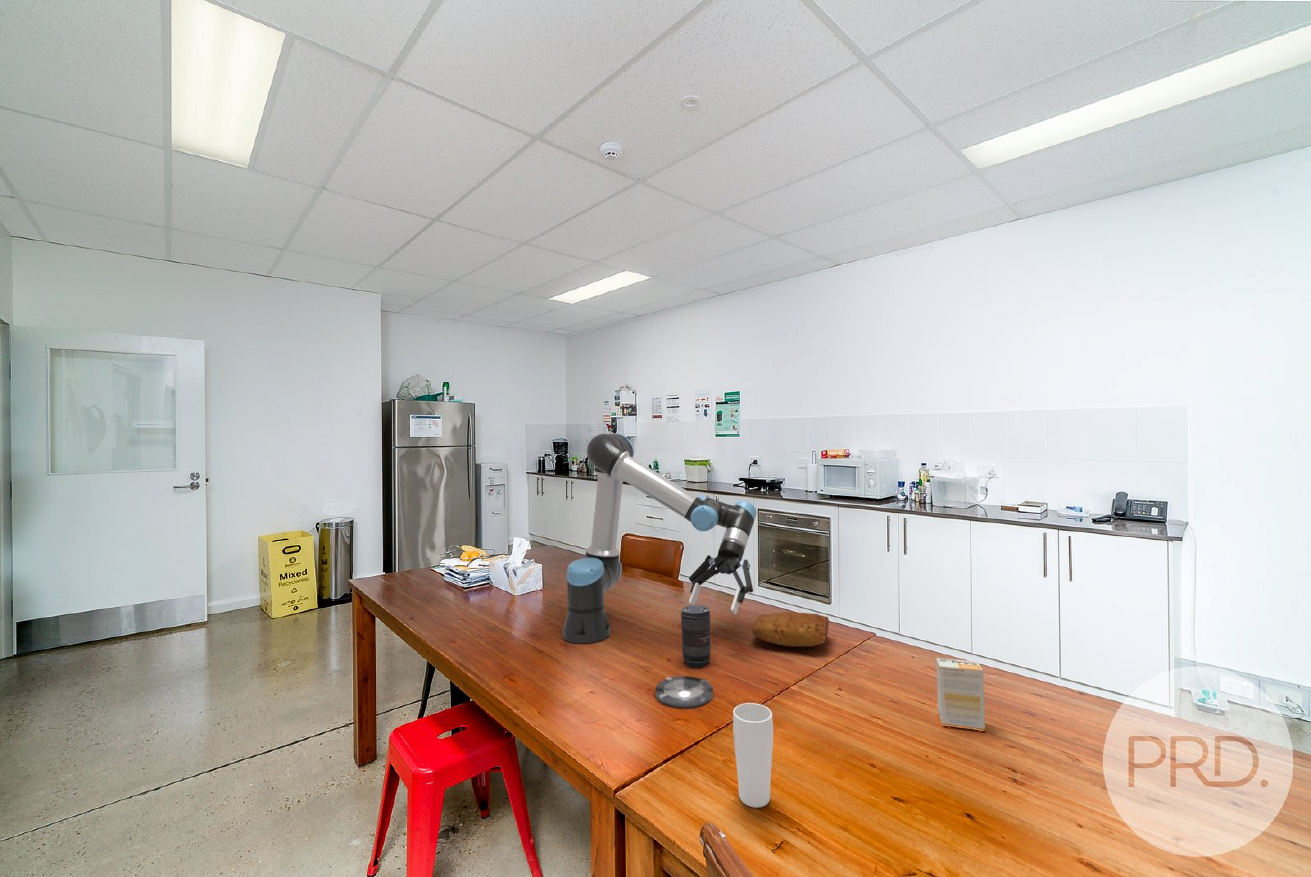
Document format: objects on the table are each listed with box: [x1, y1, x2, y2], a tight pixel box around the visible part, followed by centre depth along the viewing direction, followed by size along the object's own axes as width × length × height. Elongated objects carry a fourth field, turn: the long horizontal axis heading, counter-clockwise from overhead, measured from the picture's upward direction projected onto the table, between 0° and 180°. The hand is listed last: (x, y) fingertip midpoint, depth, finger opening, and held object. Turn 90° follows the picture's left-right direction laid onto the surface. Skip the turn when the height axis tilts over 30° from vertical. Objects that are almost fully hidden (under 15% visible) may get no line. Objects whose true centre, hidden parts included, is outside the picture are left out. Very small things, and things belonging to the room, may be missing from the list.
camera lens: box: [680, 604, 712, 669], centre depth 148 cm, size 8×8×15 cm
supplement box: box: [935, 657, 986, 731], centre depth 114 cm, size 8×5×13 cm, turn 71°
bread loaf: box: [751, 611, 830, 648], centre depth 161 cm, size 22×17×8 cm
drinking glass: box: [732, 702, 774, 809], centre depth 92 cm, size 7×7×15 cm
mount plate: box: [654, 675, 714, 709], centre depth 130 cm, size 14×14×2 cm
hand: (711, 608), depth 154 cm, fingers open, 13 cm apart
